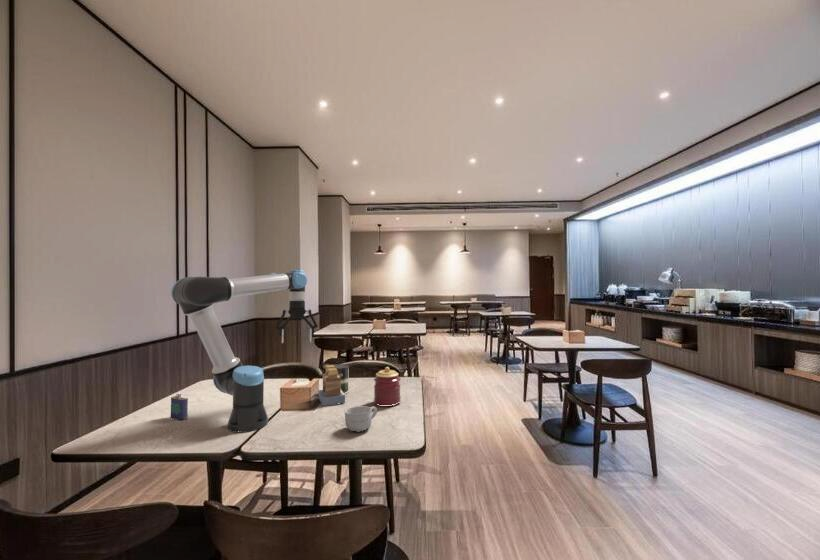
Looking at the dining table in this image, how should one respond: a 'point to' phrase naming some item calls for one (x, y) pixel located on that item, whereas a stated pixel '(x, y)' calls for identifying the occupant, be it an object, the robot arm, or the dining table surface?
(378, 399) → the canister
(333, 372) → the crate
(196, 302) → the robot arm
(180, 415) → the flask
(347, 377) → the coffee can
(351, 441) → the dining table surface
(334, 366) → the crate
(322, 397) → the dock
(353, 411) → the teacup
